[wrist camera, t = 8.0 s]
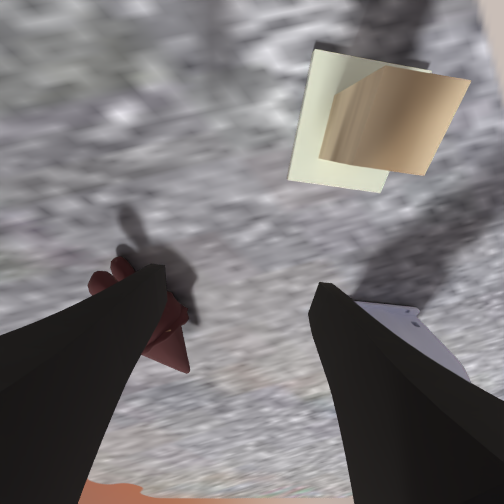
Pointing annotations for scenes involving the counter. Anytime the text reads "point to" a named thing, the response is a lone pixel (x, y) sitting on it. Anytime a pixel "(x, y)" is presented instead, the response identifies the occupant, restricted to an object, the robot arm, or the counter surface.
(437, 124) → the block
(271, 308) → the counter surface
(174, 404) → the counter surface
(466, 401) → the robot arm
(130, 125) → the counter surface
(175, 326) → the icecream
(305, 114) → the coaster
